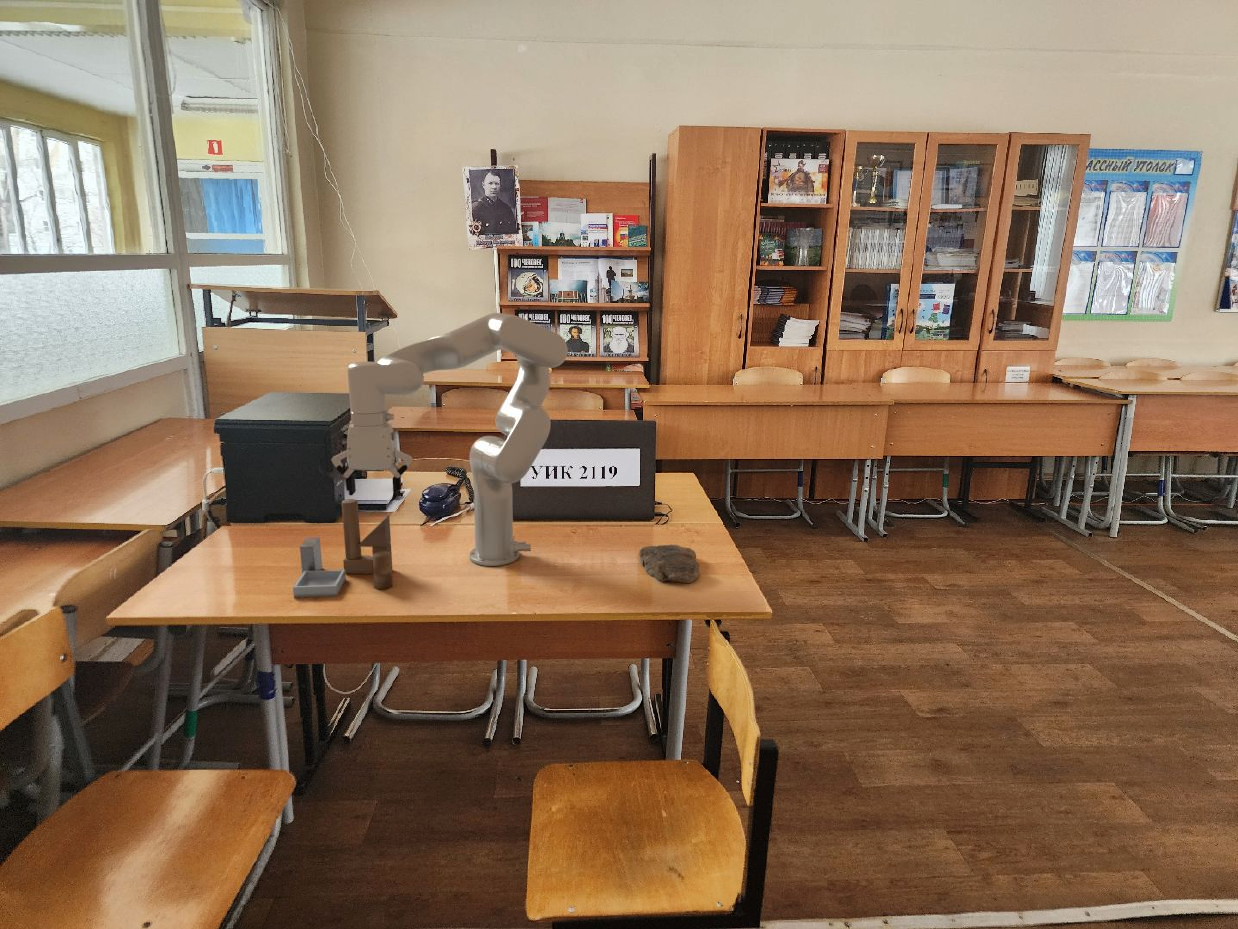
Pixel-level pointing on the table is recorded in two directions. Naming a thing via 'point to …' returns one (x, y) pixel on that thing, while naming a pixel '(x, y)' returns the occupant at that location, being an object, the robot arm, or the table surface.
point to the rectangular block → (311, 555)
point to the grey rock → (670, 563)
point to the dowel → (382, 570)
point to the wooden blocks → (376, 540)
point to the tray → (319, 583)
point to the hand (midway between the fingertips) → (374, 493)
